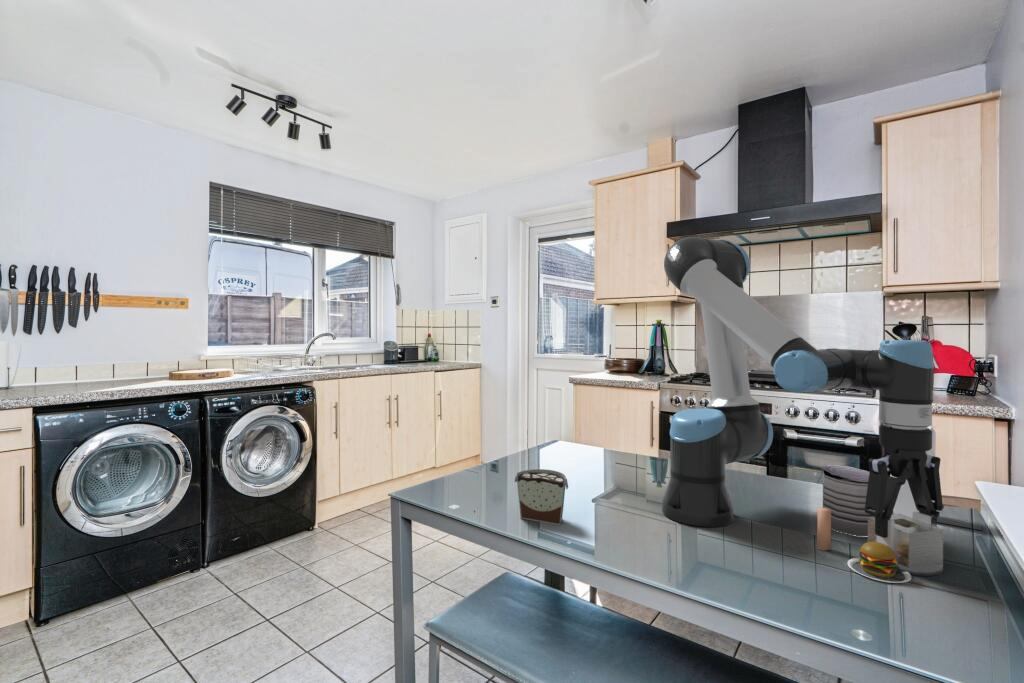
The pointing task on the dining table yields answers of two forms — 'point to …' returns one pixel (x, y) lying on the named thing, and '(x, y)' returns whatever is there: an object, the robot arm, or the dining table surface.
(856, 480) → the can
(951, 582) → the dining table surface
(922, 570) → the hub
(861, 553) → the hamburger
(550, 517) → the food container
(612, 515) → the dining table surface
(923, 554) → the collar
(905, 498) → the milk
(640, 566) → the dining table surface
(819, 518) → the sausage
